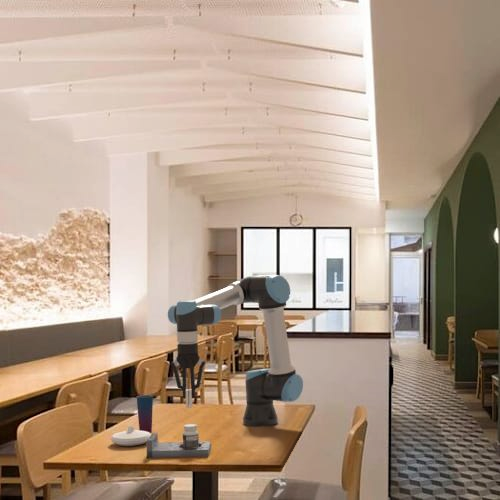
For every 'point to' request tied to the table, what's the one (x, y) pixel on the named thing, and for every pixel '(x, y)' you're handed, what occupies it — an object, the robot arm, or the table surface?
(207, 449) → the jig
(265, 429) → the table surface
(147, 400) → the cup
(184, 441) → the pill bottle
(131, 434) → the lid
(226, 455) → the table surface
